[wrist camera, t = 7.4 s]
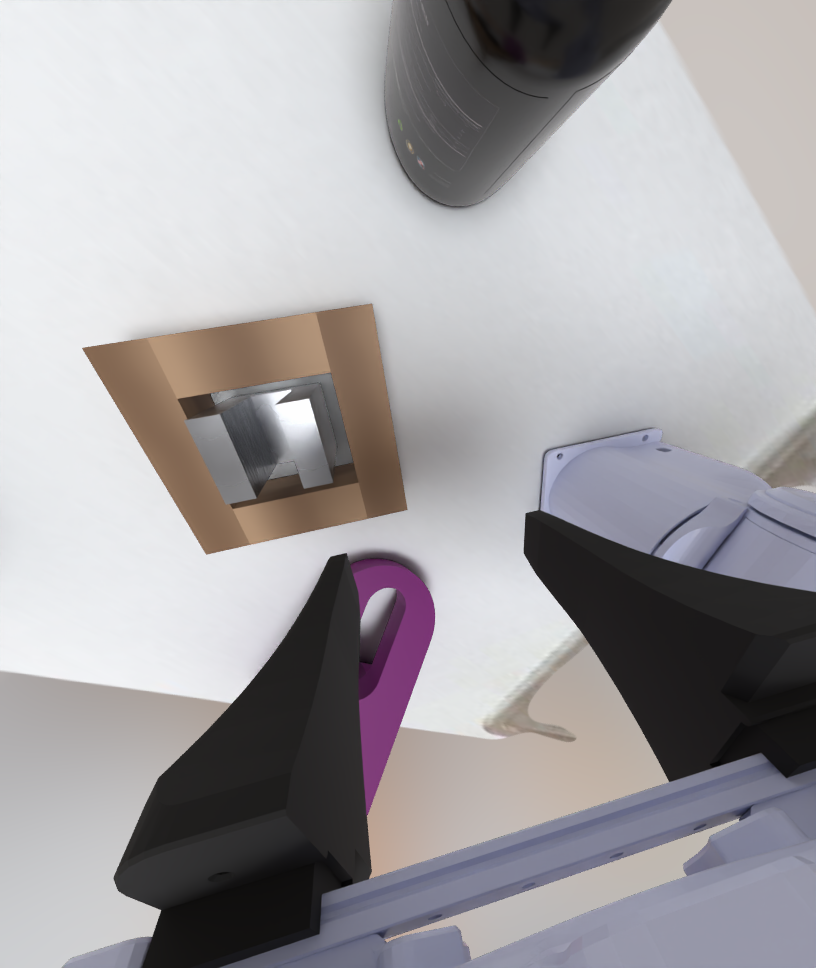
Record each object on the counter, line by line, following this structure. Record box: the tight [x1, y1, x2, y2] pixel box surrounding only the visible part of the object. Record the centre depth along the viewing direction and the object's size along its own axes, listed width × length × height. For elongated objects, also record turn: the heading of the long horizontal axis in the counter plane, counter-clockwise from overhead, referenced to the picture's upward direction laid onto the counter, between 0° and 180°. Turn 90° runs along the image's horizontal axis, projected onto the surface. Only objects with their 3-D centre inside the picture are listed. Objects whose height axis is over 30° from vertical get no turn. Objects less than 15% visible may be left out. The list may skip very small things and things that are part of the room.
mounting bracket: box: [350, 559, 435, 815], centre depth 25 cm, size 9×8×18 cm
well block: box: [82, 304, 407, 554], centre depth 16 cm, size 12×11×3 cm
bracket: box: [184, 383, 337, 505], centre depth 15 cm, size 5×4×6 cm
